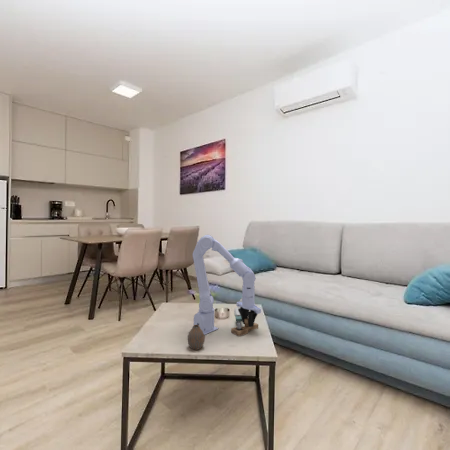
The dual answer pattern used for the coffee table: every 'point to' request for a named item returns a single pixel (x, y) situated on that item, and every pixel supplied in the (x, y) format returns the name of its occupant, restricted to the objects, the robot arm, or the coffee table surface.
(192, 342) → the vase
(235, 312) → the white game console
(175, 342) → the coffee table surface
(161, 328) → the coffee table surface
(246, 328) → the link
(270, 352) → the coffee table surface
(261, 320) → the coffee table surface
